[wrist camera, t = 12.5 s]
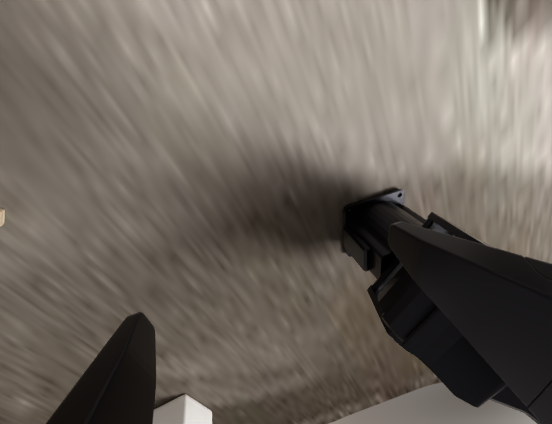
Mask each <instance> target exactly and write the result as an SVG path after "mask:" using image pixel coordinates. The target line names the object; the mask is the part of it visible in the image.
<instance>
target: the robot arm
mask: <svg viewBox="0 0 552 424" xmlns="http://www.w3.org/2000/svg"><path fill="white" fill-rule="evenodd" d="M398 194H399V195H398ZM403 203H404V191H402V190H401V189H397V190H393V191H390V192H387V193H384V194H381V195H378V196H375V197H372V198H368V199H365V200H362V201H359V202H356V203H353V204H350V205H347V206H345V207H344V209H343V215H344V227H343V241H344V247H345V248H346V254H347V255H348V256H350V257H351V256H352V257H353V258H354V259H355V260H356V262H357V263H358V264H359V265H360V267H361V268H362V269H363V270H364V271H369V270H370V272H371V273H372V274H373V275H374V276H375V277H376V279H377V280H376V281H375V283H374V284H373V285H371V286H370V287H369V288H368V289H367V291H368V293H369V295H370V297H371V300H372V302H373V304H374V306H375V308H376V311H377V313H378V315H379V317H380V319H381V321H382V324H383V325H384V327H385V329H386V332H387V333H388V335H390V336H391V337H392V338H393V339H394V340H395V341H396V342H397V343H398V344H399V345H400V346H402V347H403V348H404V349H405V350H407V351H408V352H410V353H411V354H413V355H415V356H416V357H417V358H418V359H420V360H421V361H422V362H423V363H424V364H425V365H426V366H427V367H428V368H429V369H430V370H431V371H432V372H433V373H434V374H435V375H436V376H437V377H438V378H439V379H440V380H441V381H442V382H443V383H444V384H445V385H446V387H447V388H448V389H449V390H450V391H451V392H452V393H453V394H454V395H455V396H456V397H458V398H460V399H462V400H463V401H465V402H467V403H469V404H471V405H472V406H475V407H480V406H481V405H483V404H484V403H485V402H487V401H488V400H492V401H495V402H497V403H500V404H502V405H505V406H508V407H510V408H513V409H515V410H518V411H521V412H523V413H525V414H526V415H528V416H529V417H530V418H531V419H532V420H534V421H535V422H536V423H537V424H552V264H550V263H547V262H543V261H539V260H536V259H532V258H529V257H523V256H522V255H518V254H515V253H511V252H508V251H504V250H501V249H497V248H493V247H491V246H490V245H488V244H487V243H485V242H483V241H481V240H480V239H478V238H476V237H475V236H473V235H471V234H470V233H468V232H466V231H465V230H463V229H461V228H459V227H458V226H456V225H454V224H452V223H451V222H449V221H447V220H445V219H443V218H442V217H440V216H438V215H436V214H435V213H433V212H431V213H430V215H429V216H428V219H427V220H425V219H424V218H422V217H421V216H419V215H418V214H416V213H415V212H413V211H412V210H410V209H409V208H407V207H405V206H404V205H403ZM349 209H350V210H349ZM348 210H349V211H348ZM155 390H156V348H155V329H154V327H153V325H152V324H151V323H150V321H149V320H148V319H147V317H146V316H145V315H144V314H143V313H141V312H138V313H135V314H133V315H130V316H128V317H126V319H125V320H124V321H123V322H122V324H121V325H120V326H119V328H118V329H117V330H116V332H115V333H114V334H113V336H112V337H111V338H110V340H109V341H108V342H107V344H106V345H105V346H104V347H103V349H102V350H101V351H100V353H99V354H98V355H97V357H96V358H95V359H94V361H93V362H92V363H91V365H90V366H89V367H88V369H87V370H86V371H85V373H84V374H83V375H82V377H81V378H80V379H79V381H78V382H77V383H76V384H75V386H74V387H73V388H72V390H71V391H70V392H69V394H68V395H67V396H66V398H65V399H64V400H63V402H62V403H61V404H60V406H59V407H58V408H57V410H56V411H55V412H54V414H53V415H52V416H51V417H50V419H49V420H48V421H47V423H46V424H153V413H154V402H155Z"/></svg>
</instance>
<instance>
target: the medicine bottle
mask: <svg viewBox="0 0 552 424" xmlns="http://www.w3.org/2000/svg"><path fill="white" fill-rule="evenodd" d="M153 424H212V412H211V410H209V409H208V408H206V407H205V406H203V405H202V404H200V403H199V402H197V401H196V400H194V399H193V398H191V397H189V396H188V395H186V394H184V395H182V396H180V397H178V398H176V399H174V400H172V401H170V402H168V403H166V404H164V405H162V406H160V407H158V408H156V409H154V413H153Z"/></svg>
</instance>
